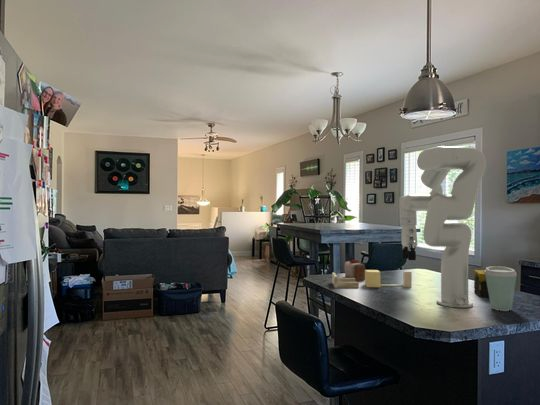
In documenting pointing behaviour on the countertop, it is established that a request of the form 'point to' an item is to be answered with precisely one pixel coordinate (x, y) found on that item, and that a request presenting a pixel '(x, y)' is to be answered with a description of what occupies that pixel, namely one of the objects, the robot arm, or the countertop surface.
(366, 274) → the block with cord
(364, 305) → the countertop surface
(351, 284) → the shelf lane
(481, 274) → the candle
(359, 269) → the food item
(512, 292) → the disposable coffee cup
